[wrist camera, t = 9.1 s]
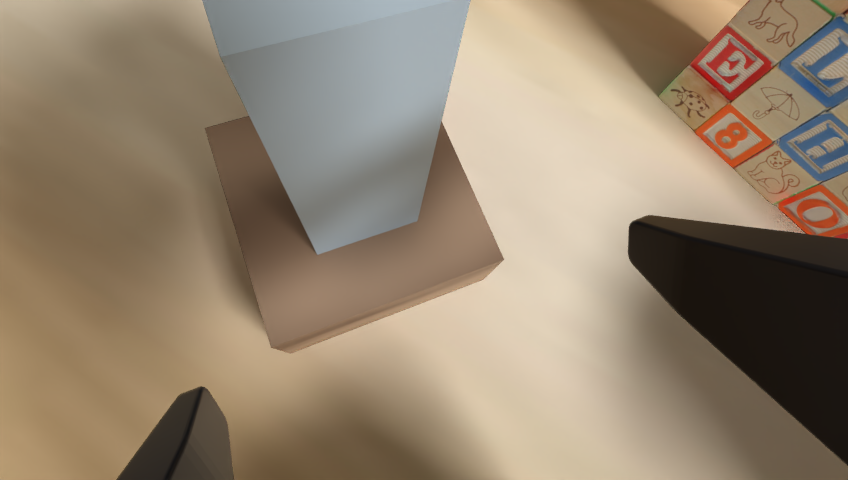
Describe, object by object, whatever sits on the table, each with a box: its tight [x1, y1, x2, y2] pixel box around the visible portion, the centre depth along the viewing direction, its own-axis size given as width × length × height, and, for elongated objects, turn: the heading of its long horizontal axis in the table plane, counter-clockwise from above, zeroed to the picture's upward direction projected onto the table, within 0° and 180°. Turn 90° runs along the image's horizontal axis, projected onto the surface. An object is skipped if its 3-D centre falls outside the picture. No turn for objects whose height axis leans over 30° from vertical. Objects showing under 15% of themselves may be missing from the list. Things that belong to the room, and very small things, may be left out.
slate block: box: [202, 0, 470, 255], centre depth 14 cm, size 4×4×12 cm
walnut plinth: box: [205, 116, 504, 353], centre depth 22 cm, size 10×10×4 cm
